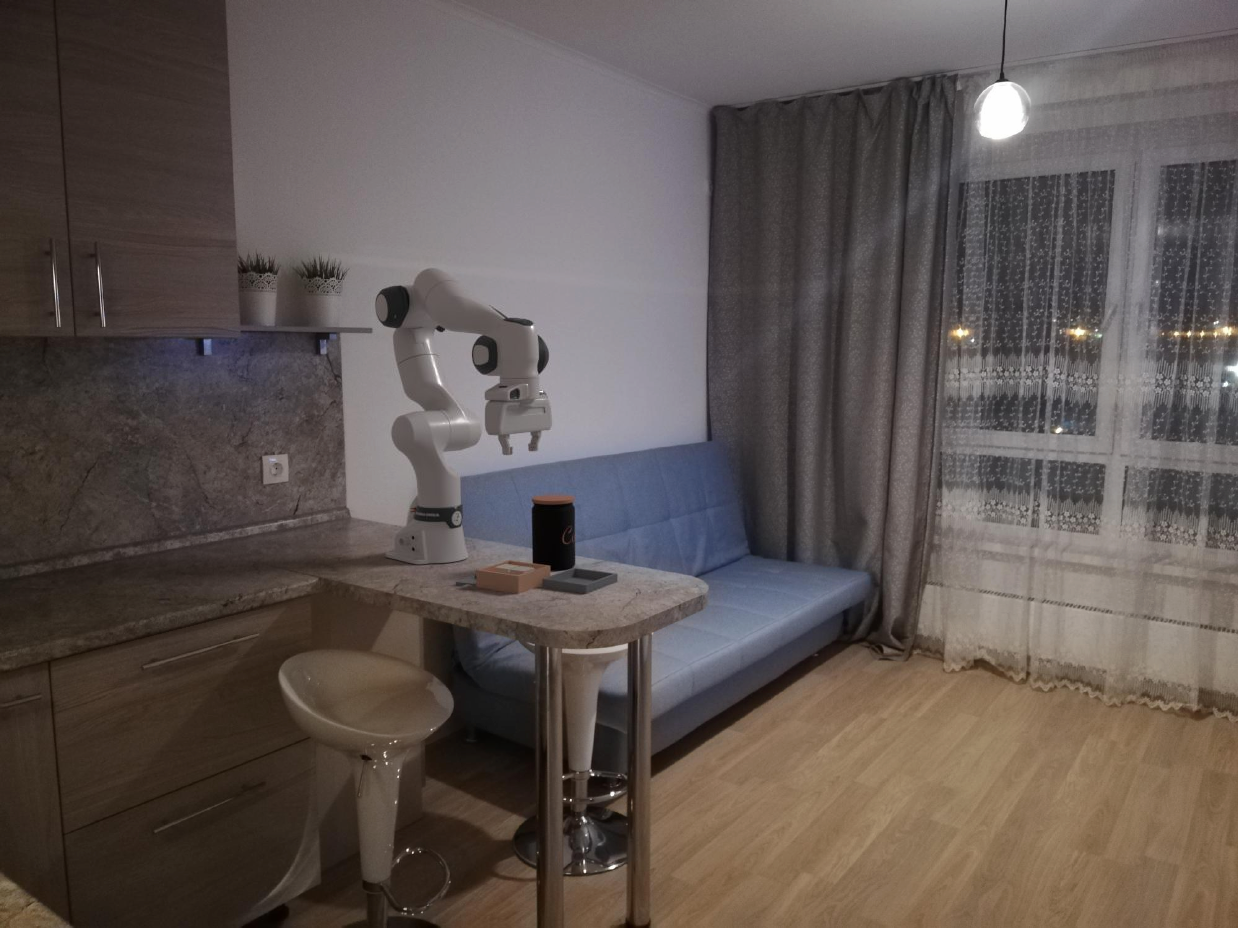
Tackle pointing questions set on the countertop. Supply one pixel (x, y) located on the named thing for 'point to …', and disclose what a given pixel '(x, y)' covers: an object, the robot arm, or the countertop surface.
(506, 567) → the cream cube
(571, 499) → the coffee jar
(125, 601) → the countertop surface
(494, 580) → the terracotta bin
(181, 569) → the countertop surface
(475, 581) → the tray lid
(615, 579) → the tray
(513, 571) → the stone
